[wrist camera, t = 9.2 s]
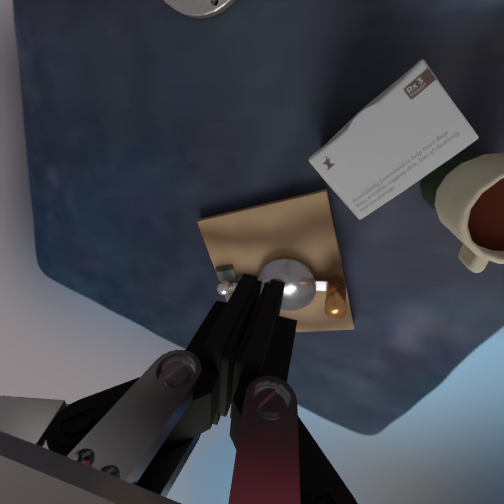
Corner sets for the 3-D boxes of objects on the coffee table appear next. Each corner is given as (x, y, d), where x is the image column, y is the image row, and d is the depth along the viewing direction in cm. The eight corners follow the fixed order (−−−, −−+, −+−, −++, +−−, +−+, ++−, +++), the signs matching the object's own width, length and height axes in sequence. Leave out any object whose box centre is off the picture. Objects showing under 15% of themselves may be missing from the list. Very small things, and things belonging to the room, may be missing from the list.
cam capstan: (226, 304, 43) (210, 329, 37) (216, 258, 40) (196, 278, 34) (346, 308, 37) (347, 339, 32) (344, 255, 34) (345, 279, 28)
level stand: (201, 218, 40) (195, 222, 38) (326, 188, 33) (326, 191, 31) (242, 328, 46) (238, 336, 44) (353, 322, 39) (354, 331, 38)
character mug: (469, 234, 31) (544, 298, 19) (400, 223, 32) (433, 277, 21) (518, 128, 26) (657, 130, 14) (434, 122, 27) (501, 120, 16)
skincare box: (349, 187, 32) (356, 229, 19) (317, 147, 31) (301, 163, 18) (419, 135, 28) (487, 143, 15) (385, 87, 27) (424, 53, 14)
